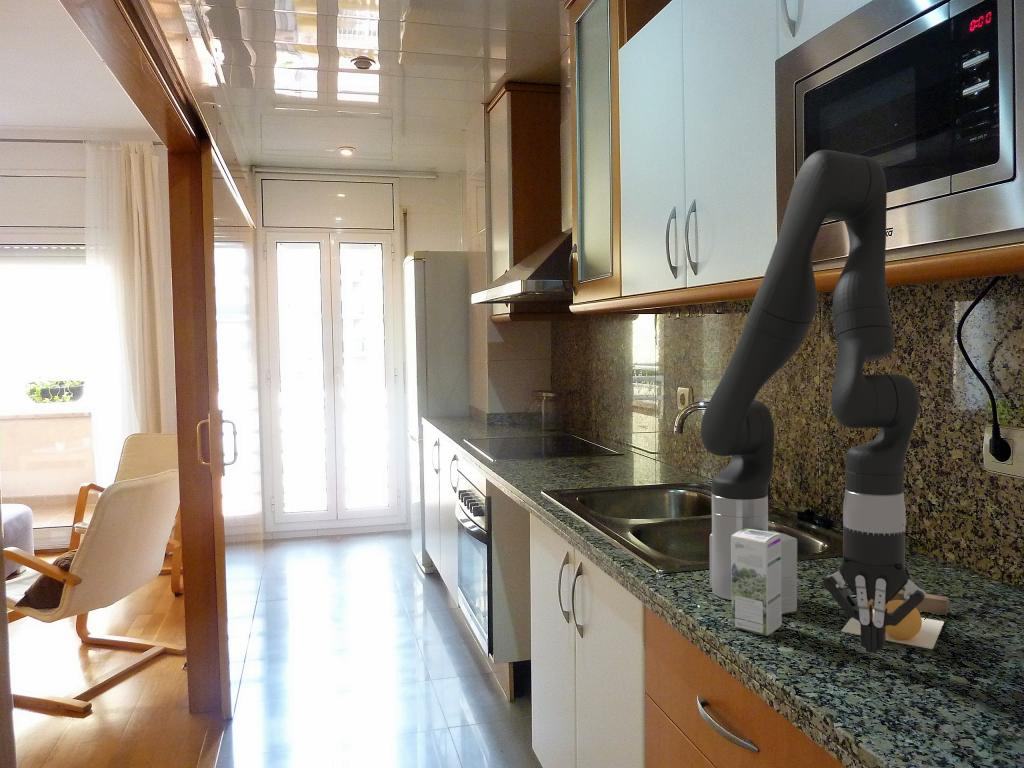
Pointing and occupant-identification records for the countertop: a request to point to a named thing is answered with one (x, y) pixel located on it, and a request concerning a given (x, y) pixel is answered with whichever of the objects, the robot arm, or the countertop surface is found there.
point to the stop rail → (927, 603)
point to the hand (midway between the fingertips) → (873, 651)
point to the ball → (904, 623)
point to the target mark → (922, 639)
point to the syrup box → (756, 581)
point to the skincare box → (788, 573)
